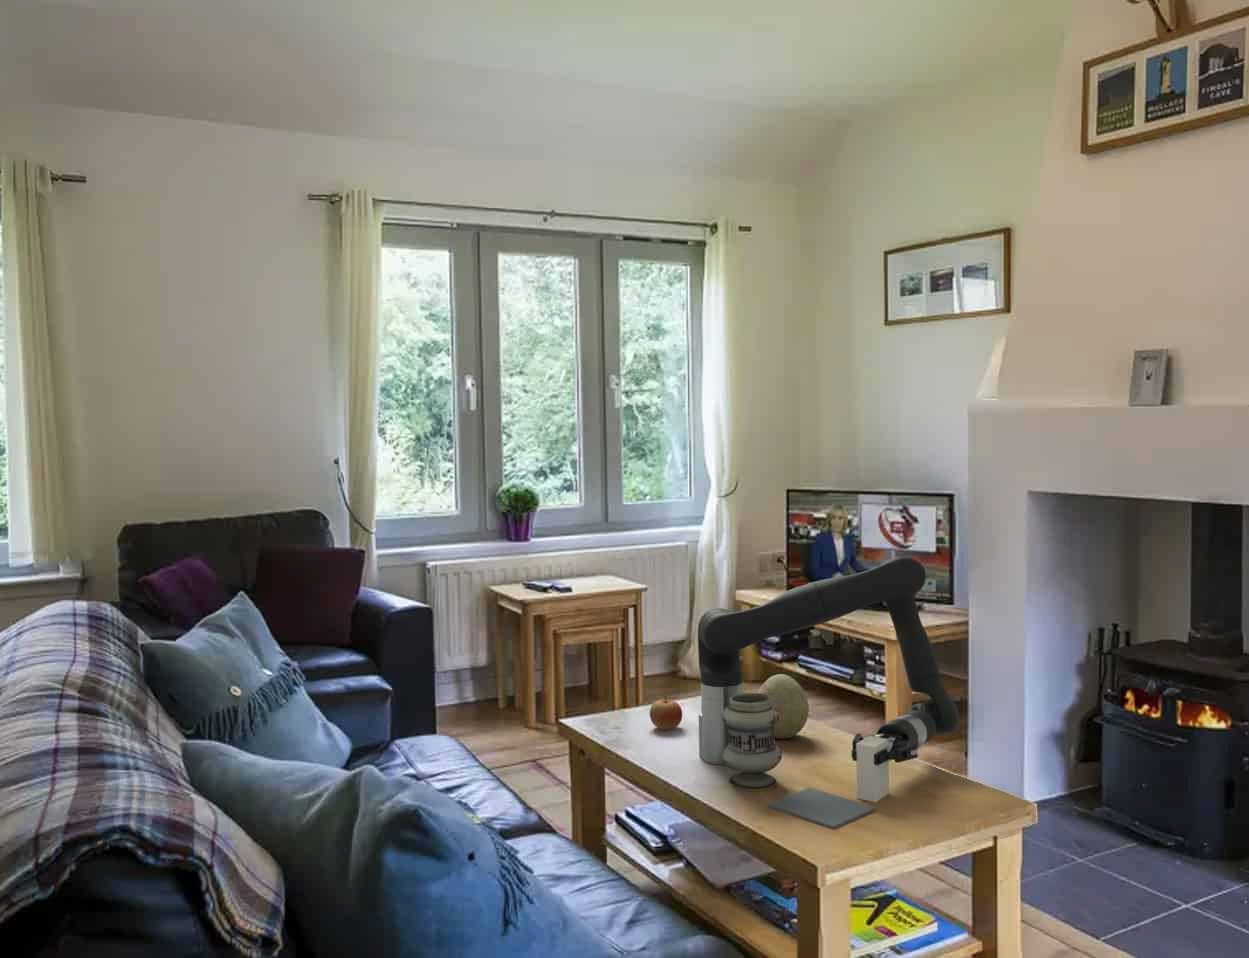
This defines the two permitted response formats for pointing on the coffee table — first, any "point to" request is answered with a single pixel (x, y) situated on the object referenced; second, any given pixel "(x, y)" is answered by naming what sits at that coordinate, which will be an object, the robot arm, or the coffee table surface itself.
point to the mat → (821, 807)
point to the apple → (665, 714)
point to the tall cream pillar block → (871, 770)
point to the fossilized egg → (787, 704)
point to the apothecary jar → (751, 741)
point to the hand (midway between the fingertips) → (865, 757)
